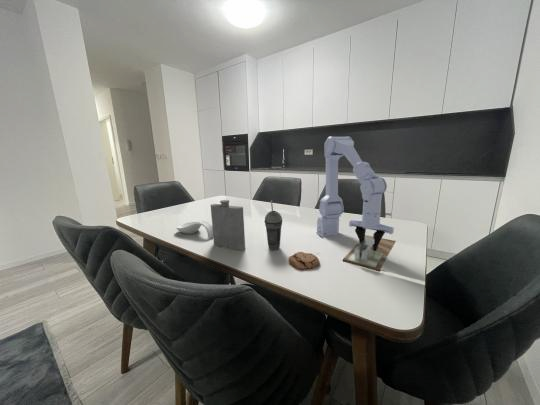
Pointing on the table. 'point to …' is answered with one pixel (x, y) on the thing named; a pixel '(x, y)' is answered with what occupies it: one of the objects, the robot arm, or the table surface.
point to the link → (365, 250)
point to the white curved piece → (195, 228)
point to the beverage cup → (273, 228)
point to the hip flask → (228, 225)
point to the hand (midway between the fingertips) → (368, 248)
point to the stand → (376, 258)
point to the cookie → (303, 260)
